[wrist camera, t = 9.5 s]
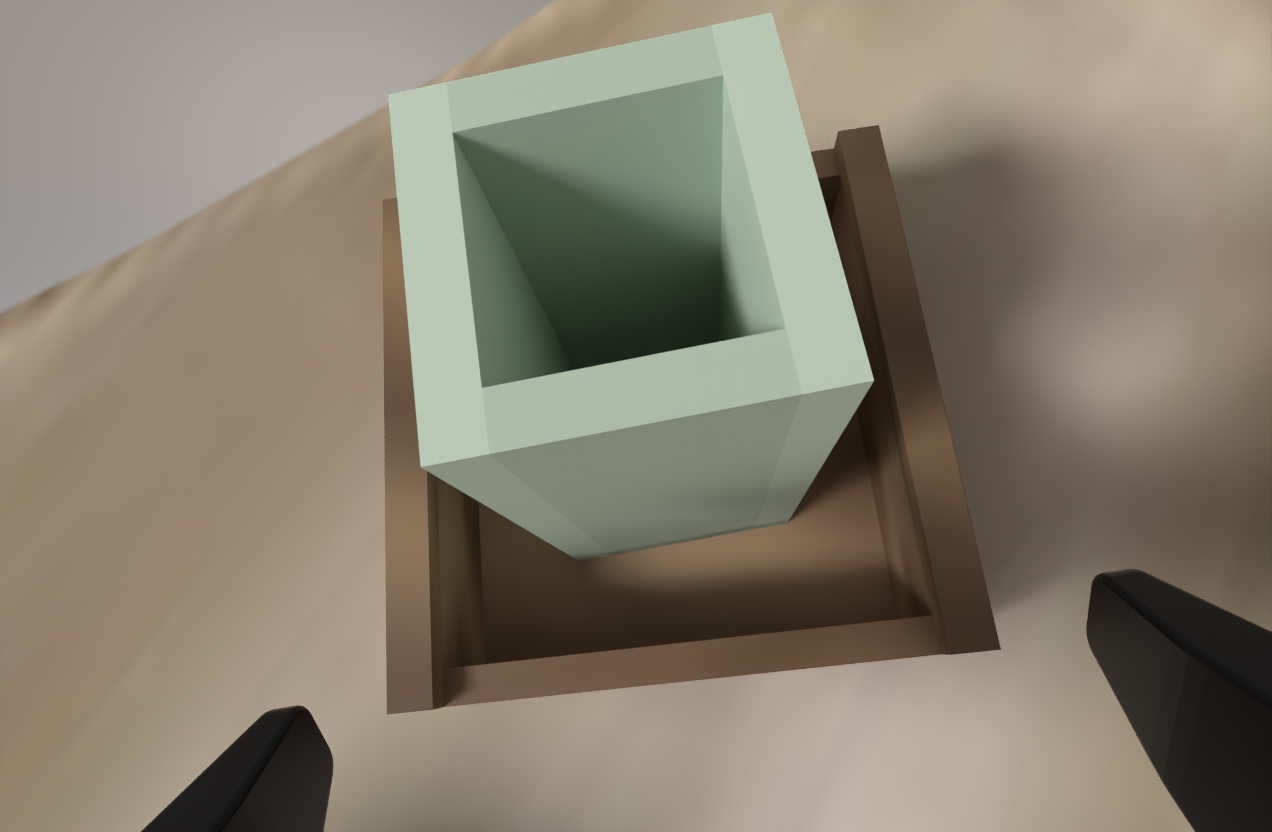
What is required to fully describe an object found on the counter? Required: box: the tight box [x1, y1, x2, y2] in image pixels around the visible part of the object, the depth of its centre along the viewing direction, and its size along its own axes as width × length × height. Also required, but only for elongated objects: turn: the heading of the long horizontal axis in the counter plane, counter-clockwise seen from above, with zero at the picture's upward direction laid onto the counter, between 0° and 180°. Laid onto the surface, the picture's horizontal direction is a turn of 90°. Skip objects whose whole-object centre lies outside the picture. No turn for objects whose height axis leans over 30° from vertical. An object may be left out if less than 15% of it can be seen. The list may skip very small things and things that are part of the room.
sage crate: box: [388, 13, 874, 561], centre depth 16 cm, size 6×6×12 cm
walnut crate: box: [383, 125, 1001, 714], centre depth 20 cm, size 13×13×5 cm
